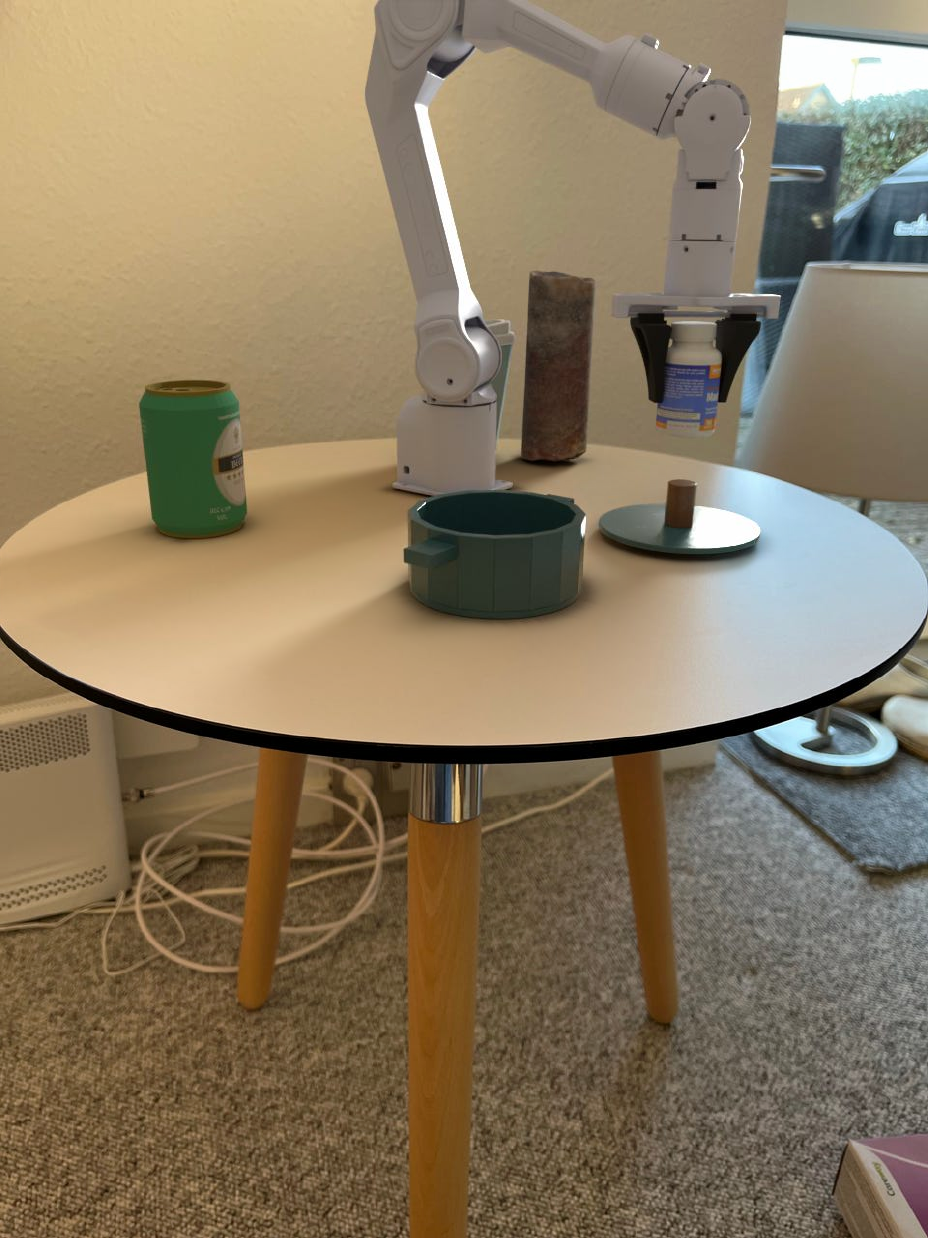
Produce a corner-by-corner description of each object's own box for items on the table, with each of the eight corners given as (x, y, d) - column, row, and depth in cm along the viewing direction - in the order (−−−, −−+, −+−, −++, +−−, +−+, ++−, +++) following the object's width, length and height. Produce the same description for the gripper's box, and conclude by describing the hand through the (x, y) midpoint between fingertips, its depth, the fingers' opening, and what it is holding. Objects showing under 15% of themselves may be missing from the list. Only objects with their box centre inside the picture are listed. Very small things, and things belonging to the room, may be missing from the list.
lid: (569, 540, 82) (572, 485, 81) (642, 507, 92) (646, 457, 91) (720, 572, 75) (727, 513, 73) (782, 532, 85) (789, 479, 83)
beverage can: (223, 543, 81) (210, 395, 76) (135, 535, 82) (117, 390, 78) (262, 517, 88) (253, 380, 84) (181, 511, 90) (167, 377, 85)
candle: (550, 448, 116) (558, 269, 109) (600, 458, 111) (611, 271, 104) (507, 458, 111) (512, 270, 103) (557, 469, 106) (566, 273, 99)
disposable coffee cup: (421, 469, 106) (420, 324, 100) (416, 448, 116) (414, 315, 110) (519, 468, 107) (523, 324, 101) (505, 447, 116) (508, 315, 111)
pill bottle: (715, 440, 87) (728, 326, 84) (653, 437, 88) (663, 324, 84) (713, 428, 92) (724, 321, 88) (654, 426, 93) (664, 319, 89)
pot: (348, 603, 68) (345, 524, 66) (494, 542, 82) (496, 475, 79) (494, 646, 61) (496, 560, 59) (628, 572, 75) (633, 500, 73)
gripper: (631, 240, 80) (619, 409, 85) (802, 242, 81) (781, 408, 86) (610, 238, 86) (600, 395, 91) (769, 240, 87) (751, 395, 93)
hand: (686, 401), depth 89 cm, fingers closed on pill bottle, 5 cm apart
